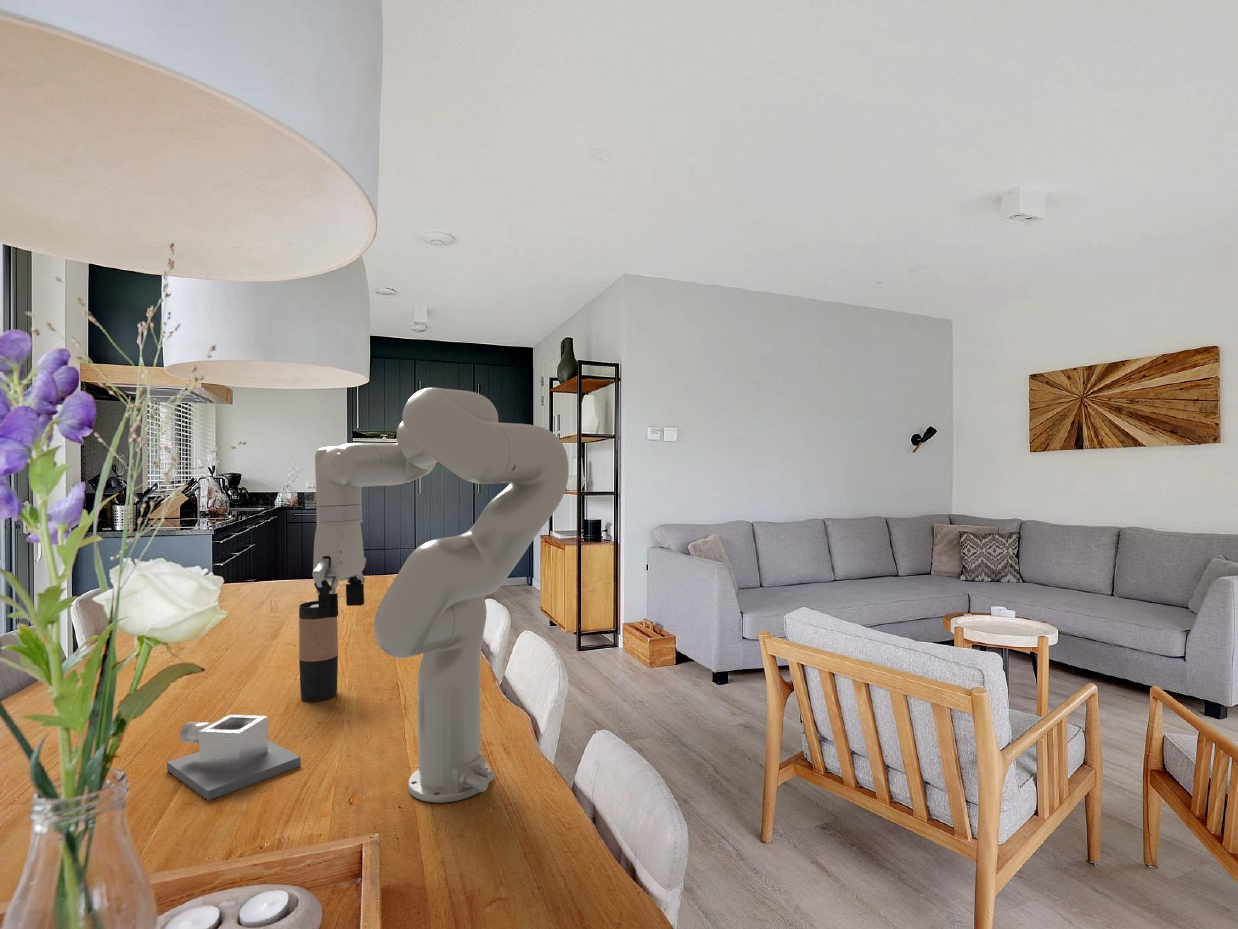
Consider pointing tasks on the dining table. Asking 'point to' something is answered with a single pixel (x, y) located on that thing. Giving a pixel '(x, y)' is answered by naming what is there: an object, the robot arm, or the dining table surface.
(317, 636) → the travel mug
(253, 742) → the grey hollow block
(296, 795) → the dining table surface
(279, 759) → the plate
